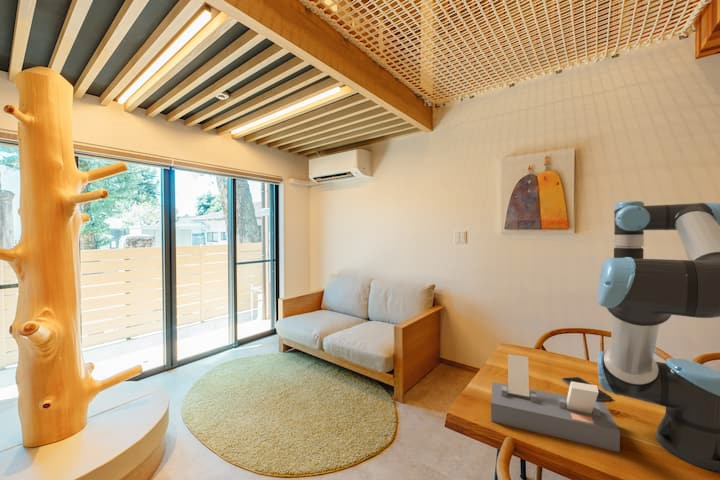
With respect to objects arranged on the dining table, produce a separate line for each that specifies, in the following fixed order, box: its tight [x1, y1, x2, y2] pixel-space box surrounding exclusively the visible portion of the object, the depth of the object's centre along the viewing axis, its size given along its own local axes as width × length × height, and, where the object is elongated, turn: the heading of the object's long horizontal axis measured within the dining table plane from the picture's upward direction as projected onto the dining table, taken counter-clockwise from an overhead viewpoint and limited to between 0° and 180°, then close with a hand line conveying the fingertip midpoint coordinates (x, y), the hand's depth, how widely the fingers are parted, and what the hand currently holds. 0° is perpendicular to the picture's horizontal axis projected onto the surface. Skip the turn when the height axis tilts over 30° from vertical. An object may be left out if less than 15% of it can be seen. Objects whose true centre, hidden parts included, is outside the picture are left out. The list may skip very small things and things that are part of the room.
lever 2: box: [566, 381, 599, 414], centre depth 87 cm, size 2×6×12 cm
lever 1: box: [507, 353, 530, 397], centre depth 99 cm, size 2×6×12 cm, turn 65°
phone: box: [562, 376, 613, 402], centre depth 111 cm, size 8×1×15 cm
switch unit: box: [490, 381, 621, 453], centre depth 94 cm, size 14×32×8 cm, turn 64°
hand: (627, 315), depth 102 cm, fingers closed
